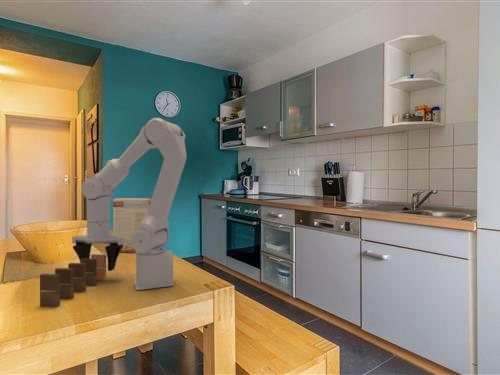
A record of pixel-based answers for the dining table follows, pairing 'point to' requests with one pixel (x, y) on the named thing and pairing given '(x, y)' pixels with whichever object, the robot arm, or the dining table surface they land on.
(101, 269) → the domino
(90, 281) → the domino
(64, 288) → the domino
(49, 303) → the domino
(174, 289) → the dining table surface
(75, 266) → the domino
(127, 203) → the cracker box
